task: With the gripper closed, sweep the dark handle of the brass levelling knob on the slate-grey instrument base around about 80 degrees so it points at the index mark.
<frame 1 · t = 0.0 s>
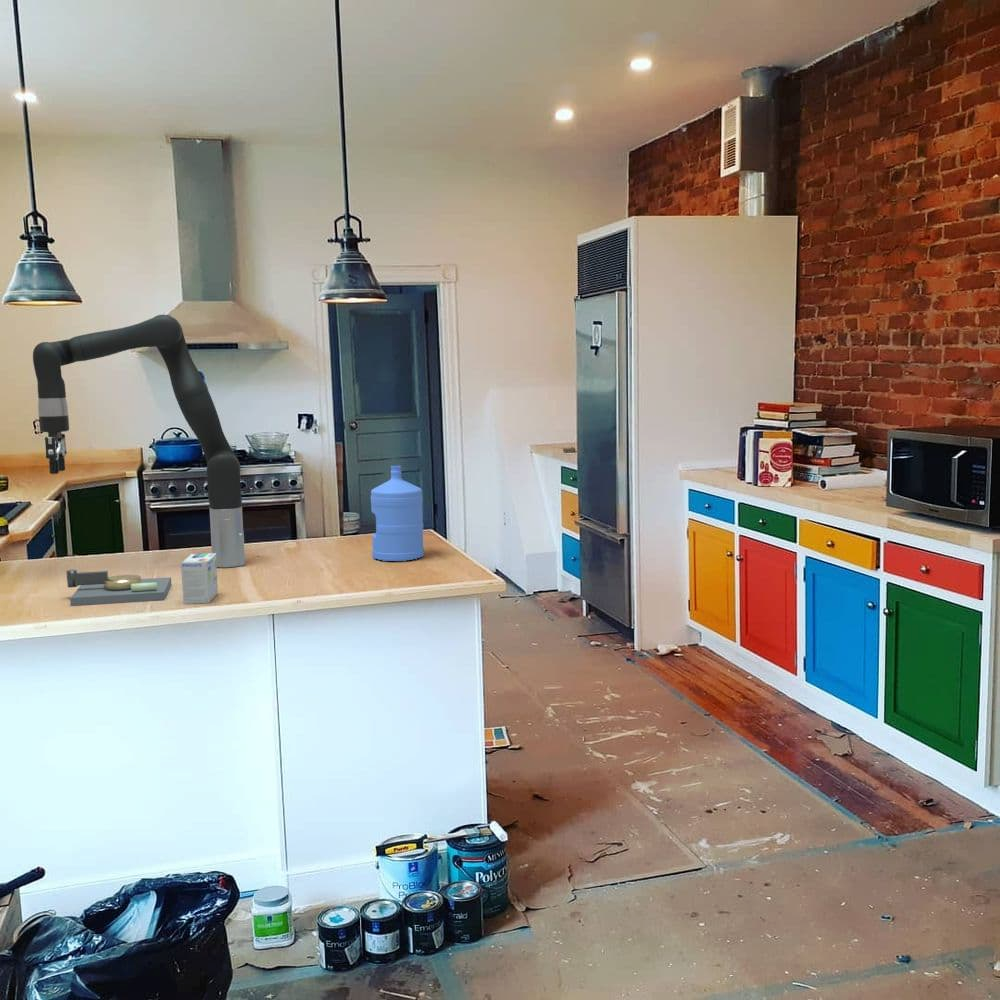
hand: (57, 472, 272), 29 cm above the counter, fingers open, 8 cm apart
light bulb box: (201, 599, 245), on the counter
instrument base: (123, 594, 250), on the counter
brass knob: (104, 578, 248), point 5 cm above the counter, hinge at 0.0°
water jug: (398, 558, 295), on the counter
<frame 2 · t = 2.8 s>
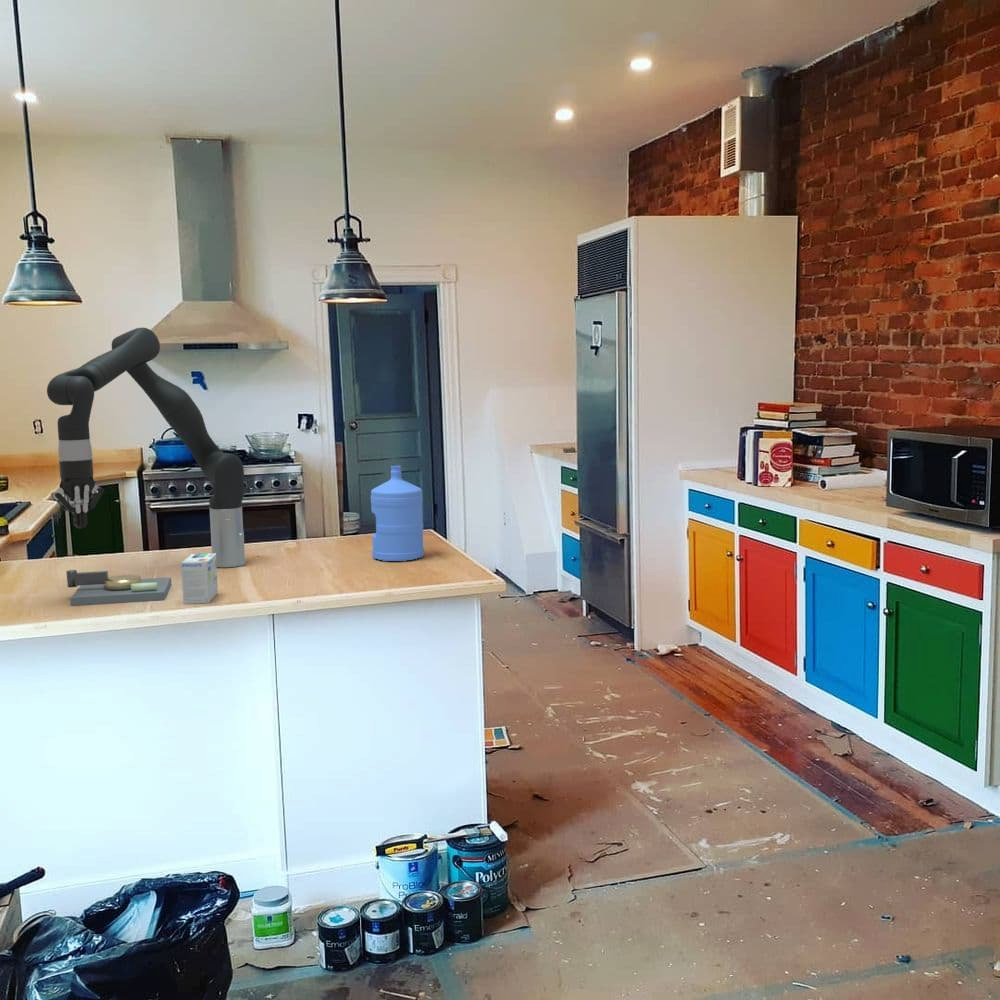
hand: (80, 527, 239), 19 cm above the counter, fingers closed
nothing on the counter moved.
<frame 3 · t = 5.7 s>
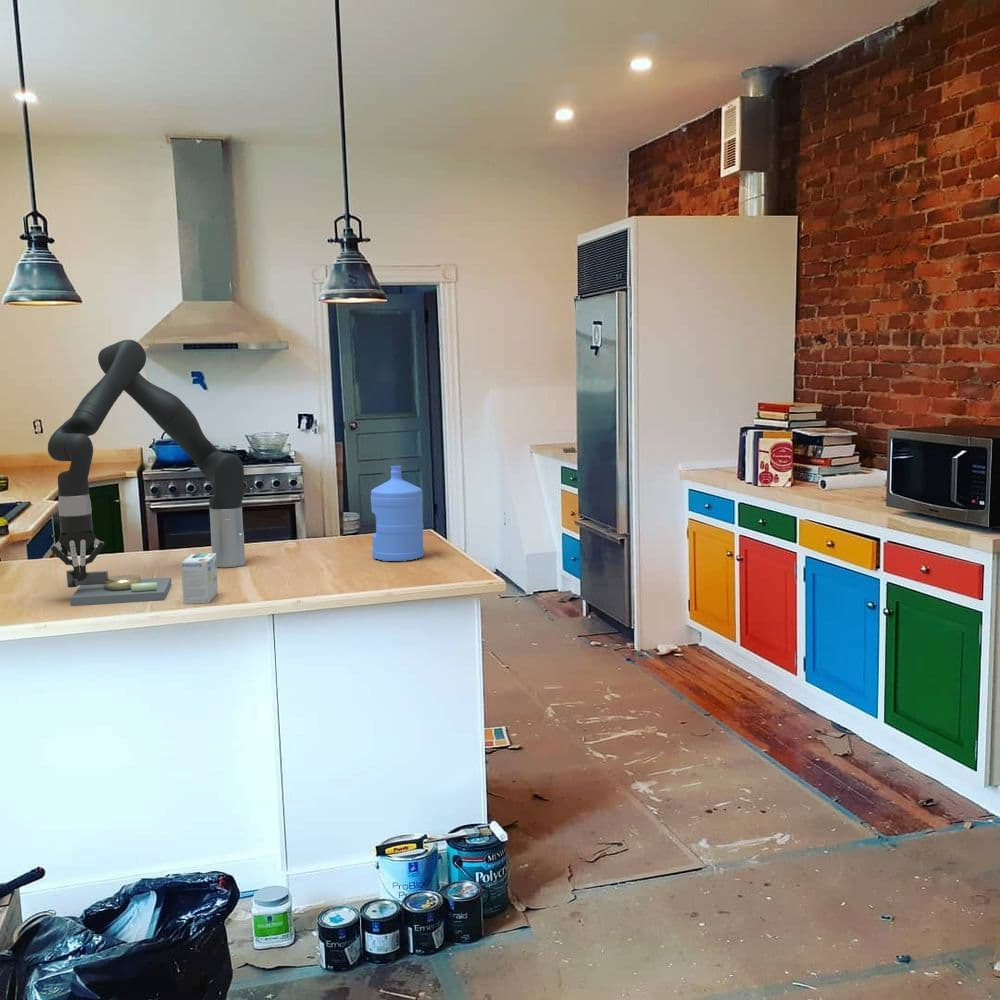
hand: (80, 580, 245), 5 cm above the counter, fingers closed
brass knob: (104, 578, 248), point 5 cm above the counter, hinge at 0.0°, touching gripper
everything else where it was.
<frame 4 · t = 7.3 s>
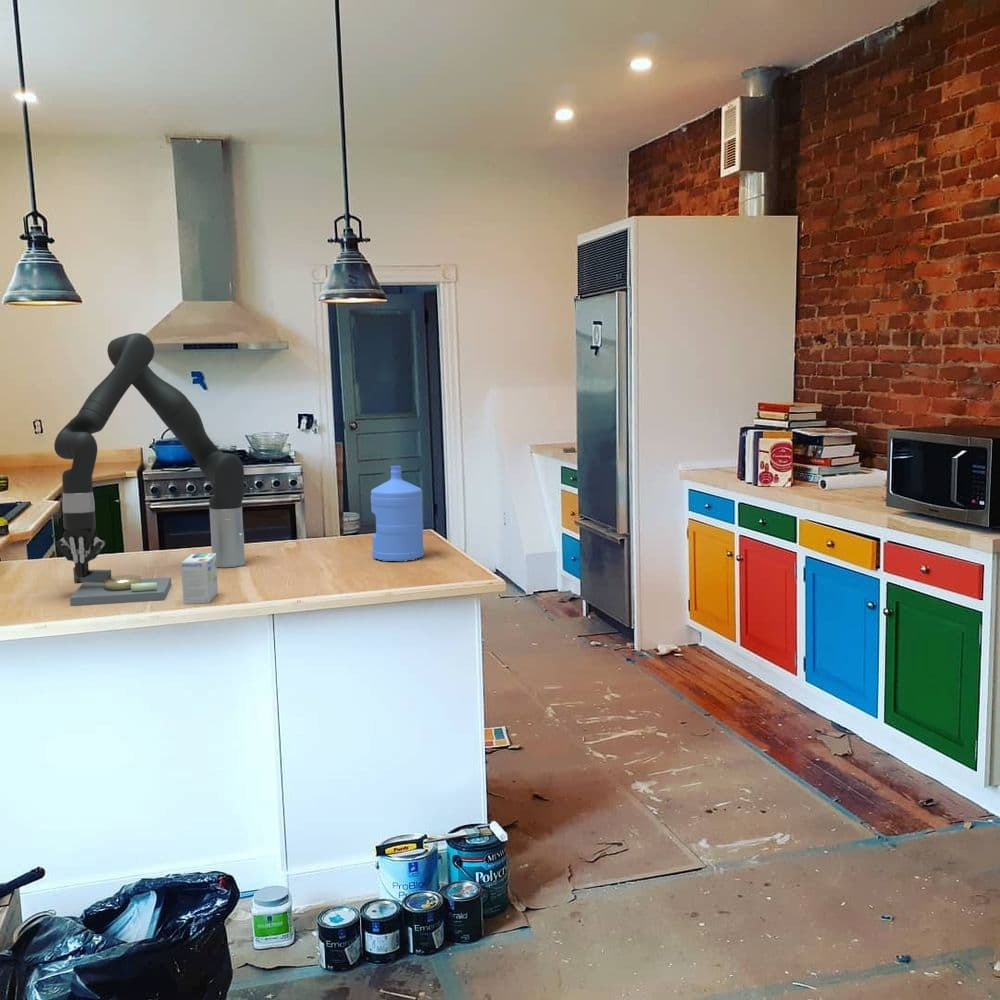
hand: (82, 576, 249), 5 cm above the counter, fingers closed
brass knob: (106, 576, 250), point 5 cm above the counter, hinge at -21.2°, touching gripper
everything else where it was.
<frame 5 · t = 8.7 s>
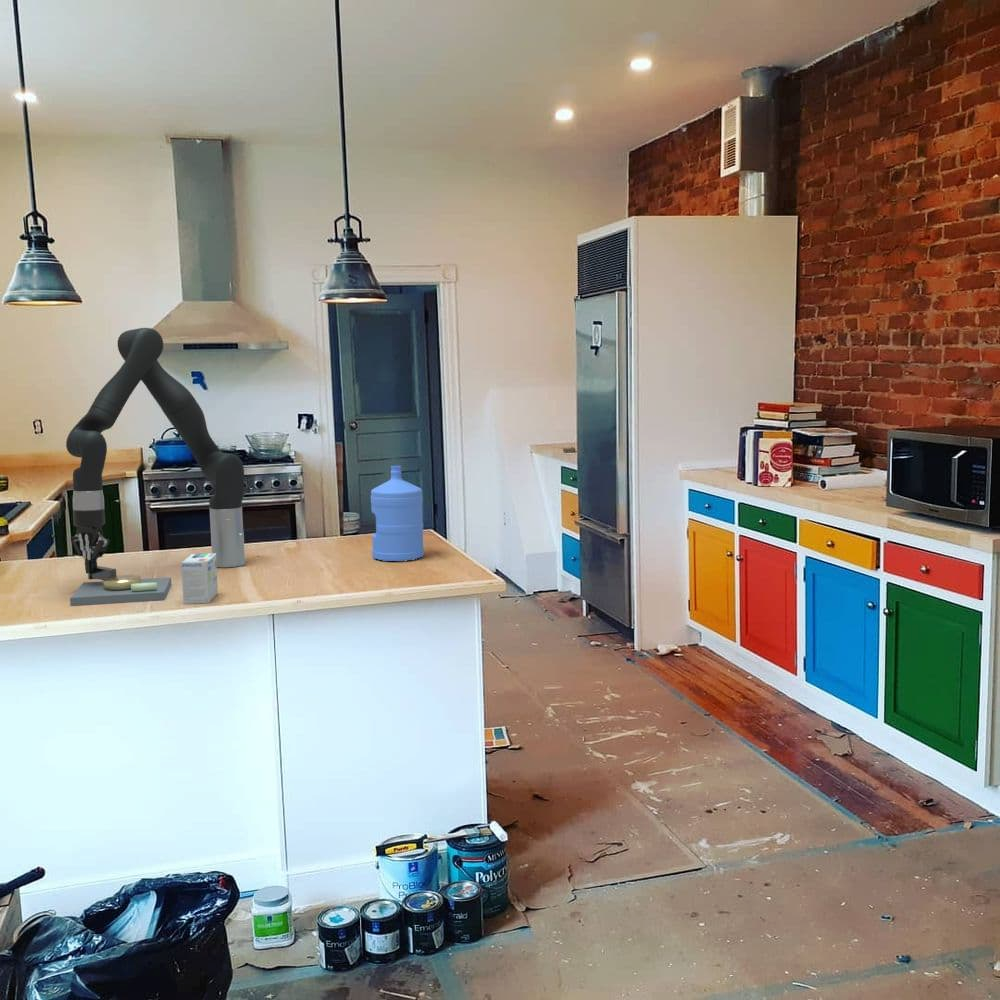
hand: (91, 573, 253), 5 cm above the counter, fingers closed
brass knob: (111, 575, 251), point 5 cm above the counter, hinge at -45.2°, touching gripper
everything else where it was.
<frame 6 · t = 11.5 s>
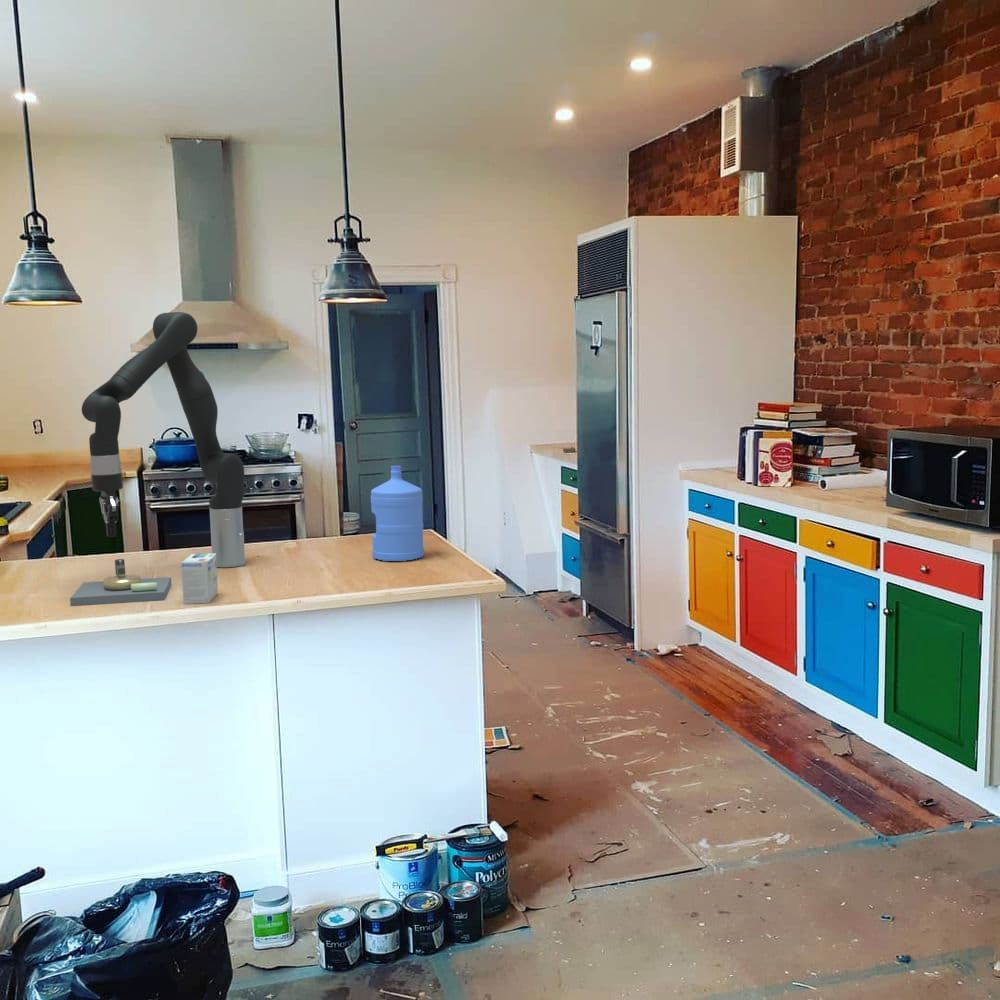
hand: (111, 536, 256), 14 cm above the counter, fingers closed
brass knob: (121, 573, 253), point 5 cm above the counter, hinge at -79.6°
everything else where it was.
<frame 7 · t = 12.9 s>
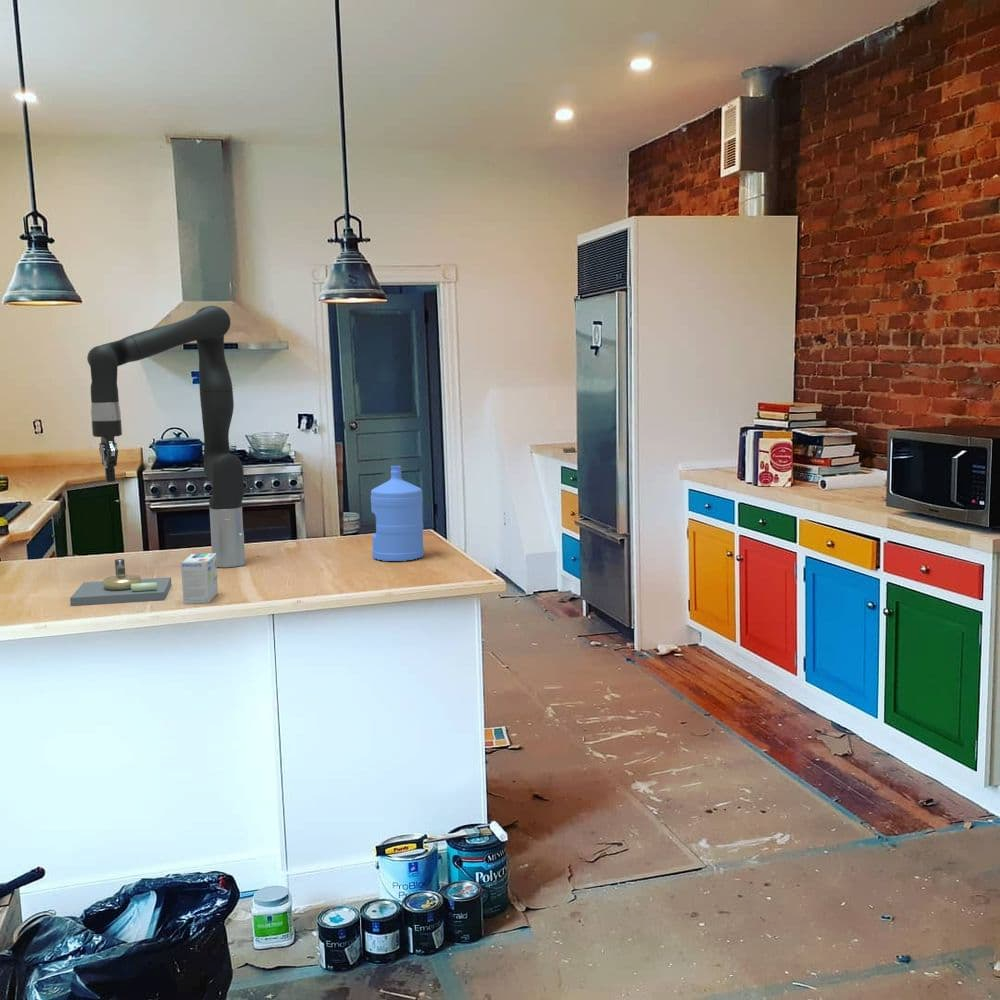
hand: (110, 481, 268), 27 cm above the counter, fingers closed
nothing on the counter moved.
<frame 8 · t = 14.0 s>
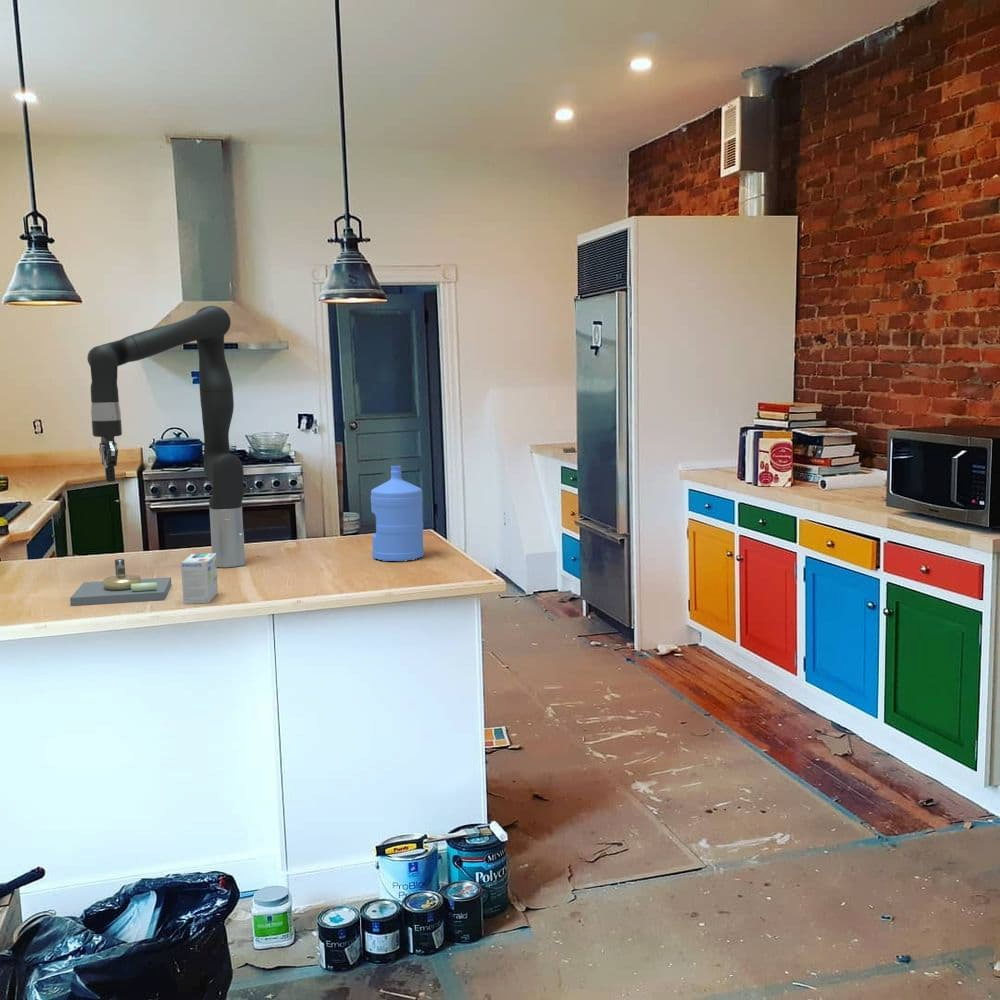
hand: (110, 481, 268), 27 cm above the counter, fingers closed
nothing on the counter moved.
at the end: brass knob at -80° (first picture: +0°) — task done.
